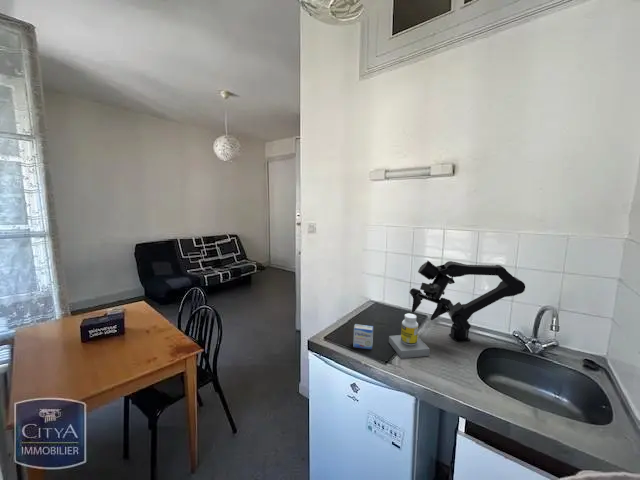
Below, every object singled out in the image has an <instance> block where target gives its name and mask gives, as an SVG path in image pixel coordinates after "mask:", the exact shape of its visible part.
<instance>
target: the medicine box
mask: <svg viewBox="0 0 640 480" xmlns="http://www.w3.org/2000/svg"><path fill="white" fill-rule="evenodd" d="M373 338H374V325H366V324H365V325H364V324H358V323H355V324H354V325H353V340H352V341H353V344H352V345H353V348H357V349H364V350H373V345H374V344H373V343H374V339H373Z"/></svg>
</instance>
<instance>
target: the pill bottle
mask: <svg viewBox="0 0 640 480" xmlns="http://www.w3.org/2000/svg"><path fill="white" fill-rule="evenodd" d="M417 316H418V315H416V314H413V313H405V314H404V319H403V320H402V321H401V329H400V330H401V332H400V335H401V341H402V342H403V343H404V344H406V345H415V344H416V343H417V336H418V337H419V334H418V333H419V323H418V322H417Z"/></svg>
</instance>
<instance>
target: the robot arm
mask: <svg viewBox="0 0 640 480" xmlns="http://www.w3.org/2000/svg"><path fill="white" fill-rule="evenodd" d="M417 273H418V274H420V275H421V276H423V277H424V278H426V279H427V280H429V281H430V280H431V281H432V280H433V281H432V282H429V283H426V282H423V281H422V282H421V285H420V288H419V289H417V288H413V287H412V288H411V289H410V290H409V294H410V296H411V298H412V308H411V313H412V314H413V313H415V312H416V311H417V309H418V308H419V306H420V305H421V304H422V301H423V300H426V301H429V302H432V303H435V304H436V307H435V309H434V311H433V312H432V314H431V316H430V320H431V321H434V320H435V319H437V318H438V317H440V316H442V315H443V314H446V313H447V314H448V316H449V318H450V319H451V321H452V323H451V328H450V333H449V334H448V336H450V337H451V338H452V339H454V340H455V341H456V342H457V343H459V342H470V341H471V338H469V331H470V329H471V327H472V325H471V323H470V322H469V321H468V320H470V318H471V317H472V316H473V314H475V313H476V312H479V311H481V310H482V309H485V308H486V307H488V306H490V305H492V304H494V303H496V302H497V301H499V300H502V299H503V298H508V297H514V296H518V295H520V294H522V293H524V292H525V291H526V284H525V283H524V281H522V280H521V279H519V278H518V277H515V276H513V275H512V274H511V273H509V271H507V269H506V268H505V267H504V266H502V265H500V264H495V265H494V264H490V265H489V264H465V263H462V262H457V261H451V260H450V261H446V262H445V263H444V264H440V265H437V266H436V265H434V264H433V263H432V262H431V261H429V260H427V261H425V262H424V263H423V264H422V265H420V267H419V269H418V271H417ZM467 275H468V276H469V275H473V276H475V275H476V276H495V277H496V276H497V277H498V278H499V279H500V282H499V284H498V285H497V286H496V287H495V288H493V289H491V290H489V291H488V292H486V293H484V294H481V295H480V296H478V297H477V298H474V299H473V300H472V299H471V301H469V302H467V303H463V304H462V303H461V302H460V301H458V302H457V303H455V304H453V302H452V301H451V300H450V299H448V298H445V297H442V295H443V296H444V295H445V290H446V288H447V287H448V285H452V284H455V279H454V278H457V277H458V278H459V277H463V276H467ZM422 291H423V293H422Z"/></svg>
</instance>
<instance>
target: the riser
mask: <svg viewBox="0 0 640 480" xmlns="http://www.w3.org/2000/svg"><path fill="white" fill-rule="evenodd" d="M388 343H389V344H390V346H391V348H393V350H394V351H395V352H396V354H397V355H398V356H399V358H400V359H407V358H417V357H419V358H420V357H429V356H430V349H431V348H430V347H428V345H427V344H426V343H424V341H423V340H422V339H421V338H420V337H419V335H418V336H417V343H416V344H415V345H406V344H404V343H403V342H402V341H401V334H398V335H396V334H395V335H389V336H388Z"/></svg>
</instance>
